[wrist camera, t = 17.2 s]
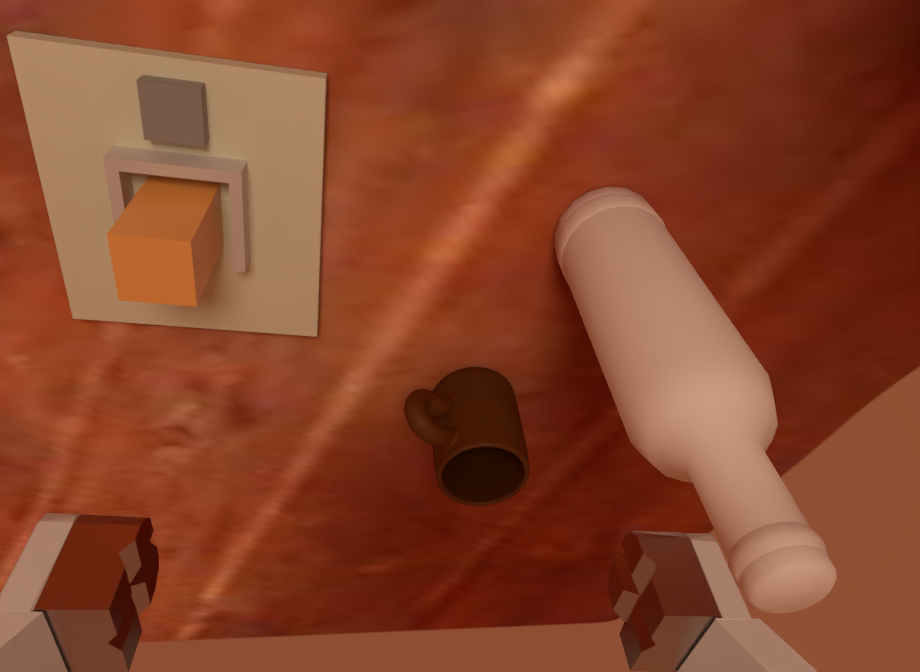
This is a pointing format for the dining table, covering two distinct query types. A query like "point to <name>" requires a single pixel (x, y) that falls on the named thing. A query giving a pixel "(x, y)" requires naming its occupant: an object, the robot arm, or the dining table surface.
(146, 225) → the orange rectangular block
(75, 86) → the mount deck
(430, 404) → the mug
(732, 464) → the bottle
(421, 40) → the dining table surface
